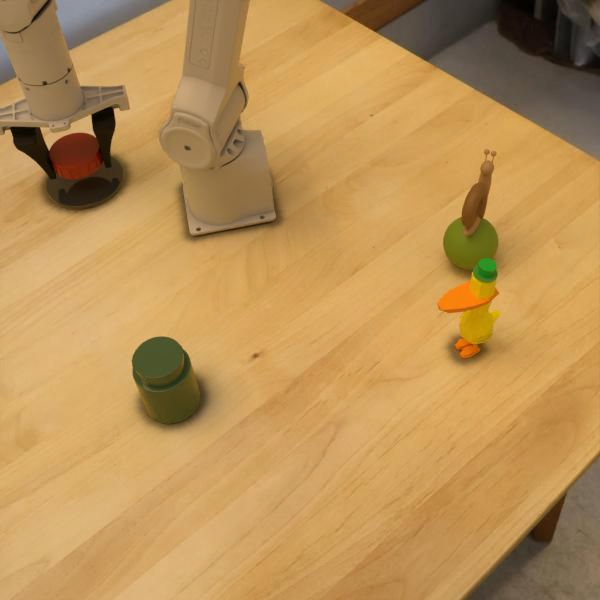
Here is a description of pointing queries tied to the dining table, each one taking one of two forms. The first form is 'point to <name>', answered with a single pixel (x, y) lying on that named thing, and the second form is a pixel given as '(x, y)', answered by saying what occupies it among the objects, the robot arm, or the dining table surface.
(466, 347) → the toy figure
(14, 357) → the dining table surface
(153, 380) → the jar
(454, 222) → the snail figurine
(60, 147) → the lid
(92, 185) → the coaster
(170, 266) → the dining table surface
